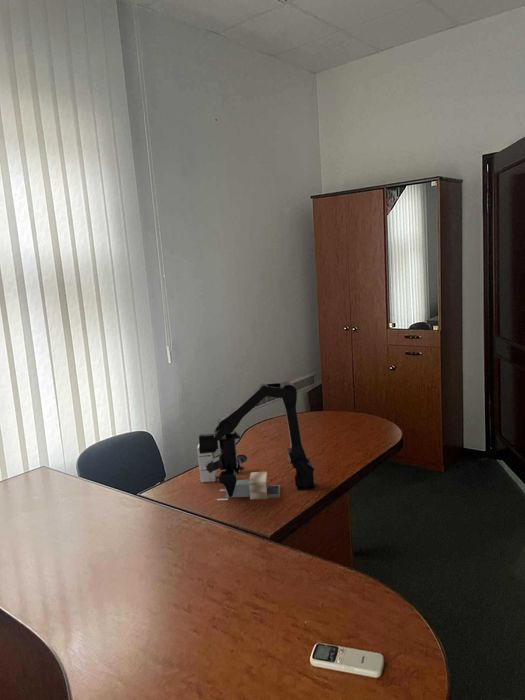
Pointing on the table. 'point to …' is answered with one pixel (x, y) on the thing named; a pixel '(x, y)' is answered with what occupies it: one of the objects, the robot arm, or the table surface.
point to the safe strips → (222, 499)
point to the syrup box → (204, 474)
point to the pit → (273, 491)
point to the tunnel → (258, 485)
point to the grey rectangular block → (240, 489)
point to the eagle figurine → (242, 459)
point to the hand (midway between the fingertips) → (231, 491)
